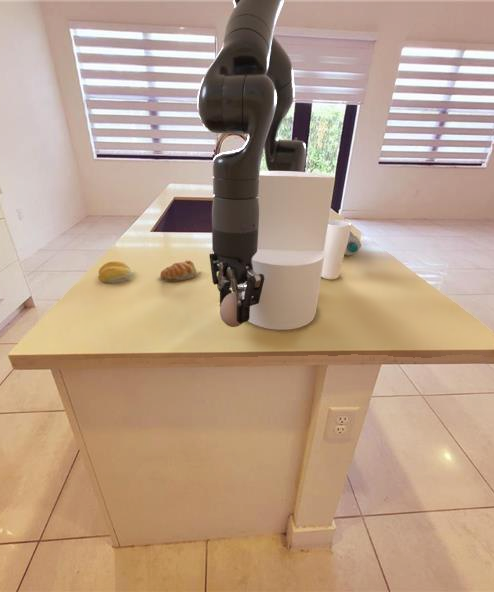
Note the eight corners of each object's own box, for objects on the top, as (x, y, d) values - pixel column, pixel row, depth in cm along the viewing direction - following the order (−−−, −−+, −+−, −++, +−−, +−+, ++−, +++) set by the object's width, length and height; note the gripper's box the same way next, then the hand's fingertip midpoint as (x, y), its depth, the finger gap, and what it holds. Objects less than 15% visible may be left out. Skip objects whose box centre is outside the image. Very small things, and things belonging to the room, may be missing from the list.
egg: (226, 315, 62) (226, 285, 59) (250, 321, 61) (252, 290, 58) (215, 329, 58) (215, 296, 55) (241, 335, 56) (242, 302, 53)
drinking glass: (345, 276, 87) (356, 222, 80) (333, 283, 83) (343, 227, 76) (324, 269, 91) (332, 218, 84) (311, 276, 87) (319, 222, 80)
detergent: (313, 235, 120) (328, 257, 98) (317, 217, 117) (334, 235, 95) (346, 239, 121) (369, 262, 99) (351, 221, 118) (376, 240, 95)
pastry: (167, 285, 79) (166, 271, 78) (156, 277, 84) (154, 263, 82) (199, 276, 85) (198, 263, 83) (186, 269, 89) (185, 256, 88)
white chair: (239, 289, 78) (242, 169, 65) (308, 292, 78) (325, 172, 65) (236, 328, 63) (239, 181, 50) (322, 331, 63) (348, 184, 50)
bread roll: (99, 287, 78) (95, 272, 76) (99, 273, 85) (97, 259, 83) (133, 283, 80) (131, 268, 78) (131, 270, 88) (129, 256, 86)
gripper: (282, 232, 47) (274, 326, 55) (231, 212, 57) (230, 294, 65) (241, 239, 43) (238, 340, 51) (194, 217, 54) (198, 303, 62)
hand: (233, 314), depth 58 cm, fingers closed on egg, 5 cm apart
